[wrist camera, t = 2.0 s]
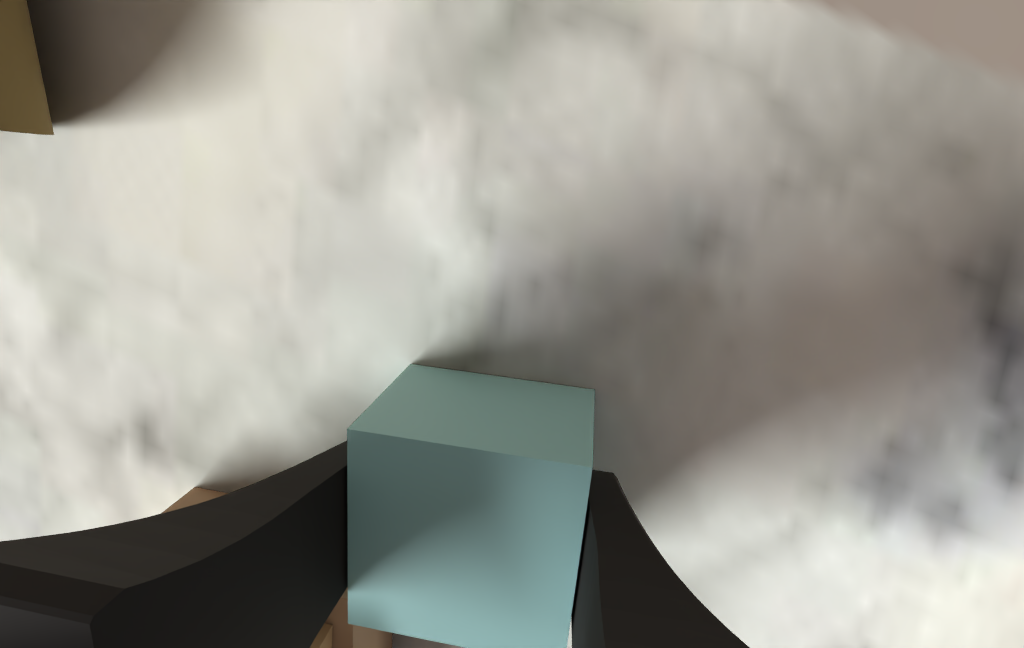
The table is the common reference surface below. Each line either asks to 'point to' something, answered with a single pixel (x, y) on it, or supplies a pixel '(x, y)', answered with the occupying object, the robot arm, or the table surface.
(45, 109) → the olive rounded piece
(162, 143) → the table surface
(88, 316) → the table surface
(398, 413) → the teal block
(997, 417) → the table surface
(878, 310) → the table surface
